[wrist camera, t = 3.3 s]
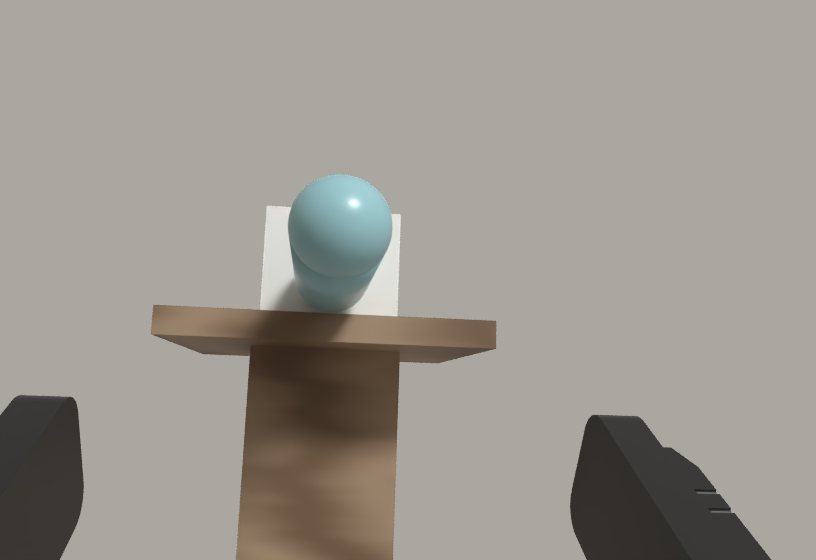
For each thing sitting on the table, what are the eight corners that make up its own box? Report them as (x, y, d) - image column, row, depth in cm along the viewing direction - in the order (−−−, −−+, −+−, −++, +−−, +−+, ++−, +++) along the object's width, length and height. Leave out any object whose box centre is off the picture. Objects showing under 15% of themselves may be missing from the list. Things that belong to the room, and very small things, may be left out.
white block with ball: (228, 263, 16) (241, 94, 17) (276, 340, 38) (281, 267, 39) (447, 274, 17) (451, 112, 17) (369, 344, 39) (372, 272, 40)
